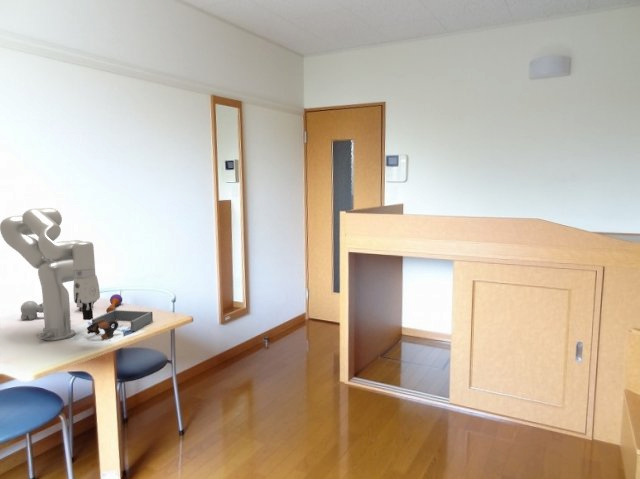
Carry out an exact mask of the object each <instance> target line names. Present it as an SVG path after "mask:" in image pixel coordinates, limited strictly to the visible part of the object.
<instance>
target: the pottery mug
mask: <svg viewBox="0 0 640 479" xmlns="http://www.w3.org/2000/svg"><path fill="white" fill-rule="evenodd" d="M112 325H114V326H113V327H112ZM118 327H119V322H118V320H113V321H110V322H105V320H104V319H103V320H100V321H98V322H96V323H94V324H92V323H91V324H90V325H88V326H87V327H86V329H87V333H86V334H88V335H90V334H95V335H97V334H98V335H100V337H101V340H102V341H105V340H108V339H109V338H112V337H114V333H115V331H116V330H117V329H118ZM100 330H103V332H104V333H103V334H102V335H101V331H100Z"/></svg>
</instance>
